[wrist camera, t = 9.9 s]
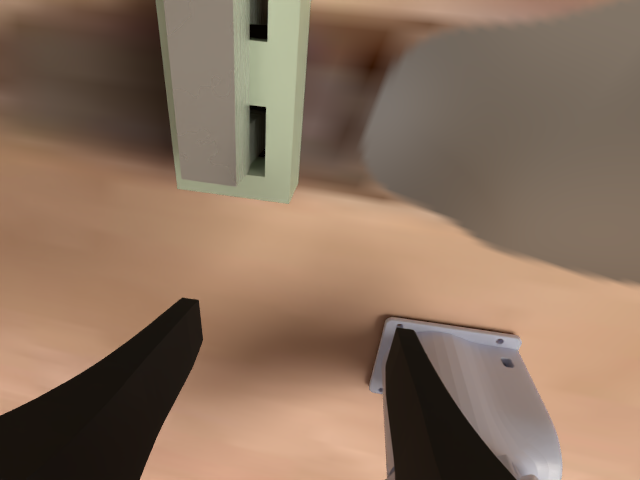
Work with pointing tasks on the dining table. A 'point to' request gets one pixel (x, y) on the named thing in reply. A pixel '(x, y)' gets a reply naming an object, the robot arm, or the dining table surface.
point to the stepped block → (214, 87)
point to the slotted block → (263, 103)
